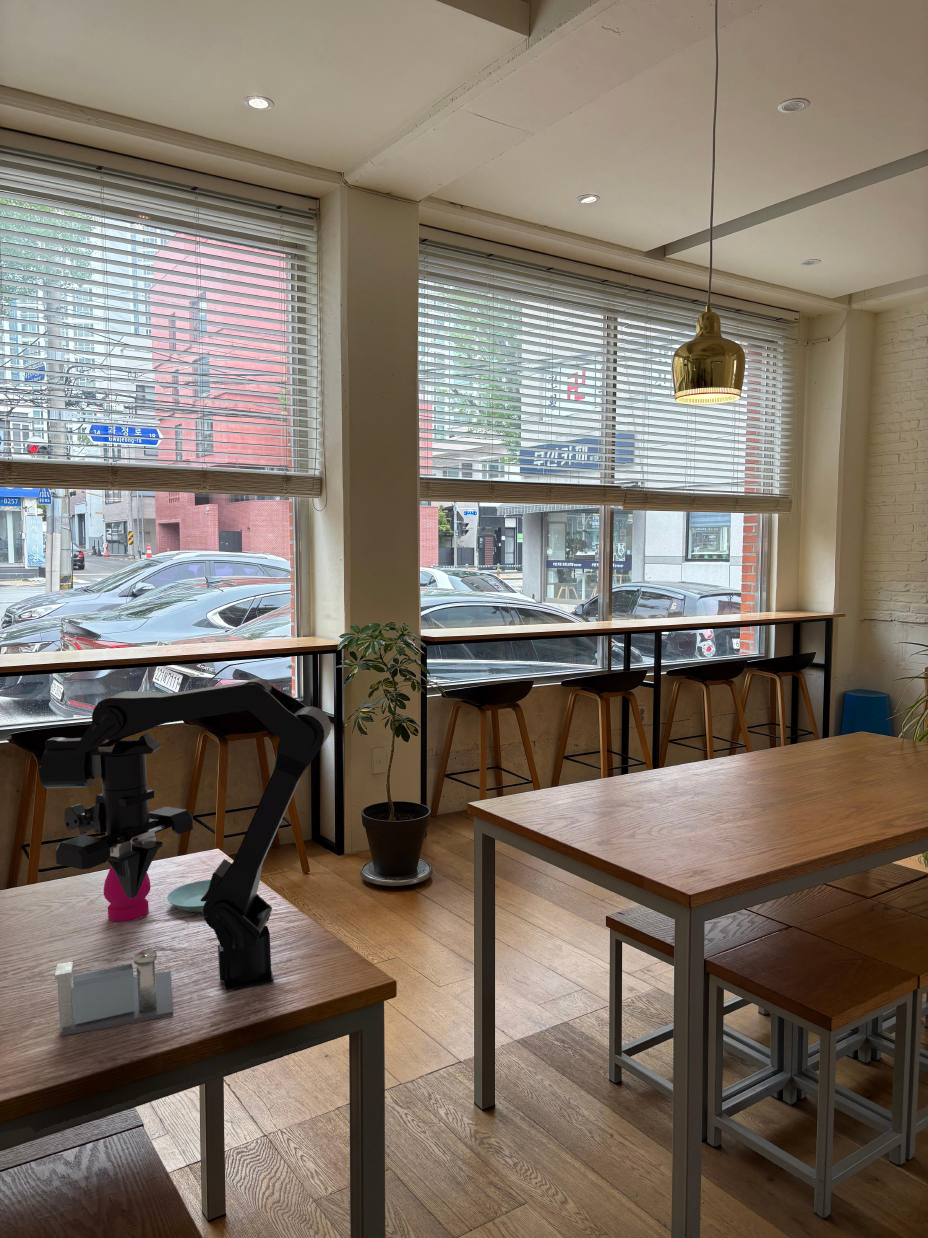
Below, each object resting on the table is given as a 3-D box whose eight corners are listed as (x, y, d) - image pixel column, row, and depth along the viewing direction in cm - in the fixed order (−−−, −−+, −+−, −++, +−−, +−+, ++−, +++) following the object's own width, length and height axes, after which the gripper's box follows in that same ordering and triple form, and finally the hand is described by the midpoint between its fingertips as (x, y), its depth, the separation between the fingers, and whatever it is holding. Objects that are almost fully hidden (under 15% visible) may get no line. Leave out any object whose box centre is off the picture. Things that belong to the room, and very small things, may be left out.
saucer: (170, 924, 143) (169, 910, 143) (165, 898, 154) (164, 885, 154) (245, 912, 148) (244, 898, 147) (235, 887, 158) (235, 875, 158)
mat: (170, 974, 125) (170, 971, 125) (172, 1015, 114) (172, 1011, 114) (69, 991, 121) (69, 988, 121) (61, 1036, 110) (61, 1032, 110)
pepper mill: (136, 925, 143) (129, 801, 141) (95, 922, 144) (88, 800, 143) (160, 907, 150) (154, 789, 148) (121, 904, 151) (115, 788, 150)
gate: (133, 1005, 115) (131, 963, 115) (135, 1011, 113) (132, 969, 113) (75, 1018, 112) (72, 975, 112) (76, 1024, 110) (73, 981, 110)
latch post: (76, 1019, 114) (73, 961, 113) (74, 1032, 111) (70, 972, 110) (60, 1022, 113) (57, 964, 112) (58, 1035, 110) (54, 975, 109)
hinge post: (159, 1005, 117) (156, 949, 116) (159, 1015, 114) (156, 958, 113) (136, 1009, 116) (133, 952, 115) (136, 1020, 113) (133, 961, 113)
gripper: (138, 765, 134) (144, 867, 135) (24, 796, 117) (32, 912, 119) (192, 771, 128) (198, 878, 129) (81, 806, 112) (89, 927, 113)
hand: (131, 897), depth 123 cm, fingers closed
